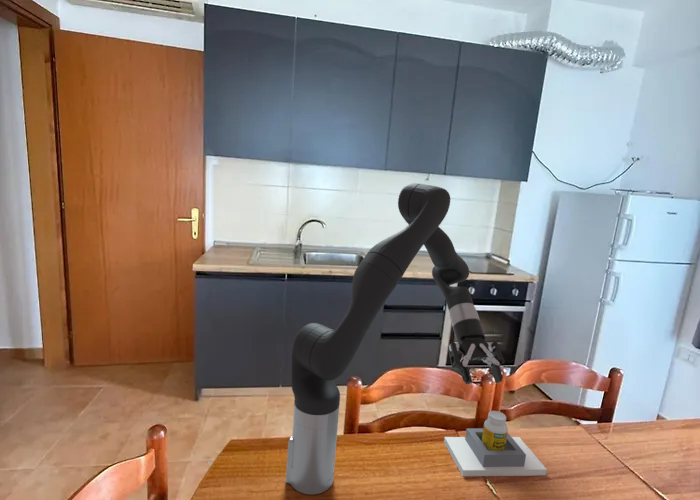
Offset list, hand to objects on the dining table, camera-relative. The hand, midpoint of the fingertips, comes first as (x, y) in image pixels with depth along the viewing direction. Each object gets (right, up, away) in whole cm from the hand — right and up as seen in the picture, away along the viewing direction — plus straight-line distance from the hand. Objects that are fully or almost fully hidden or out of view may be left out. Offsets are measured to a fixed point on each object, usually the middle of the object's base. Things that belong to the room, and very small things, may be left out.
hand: (484, 382), depth 101 cm
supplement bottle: (0, -15, -4) cm, 16 cm away
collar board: (0, -17, -4) cm, 17 cm away
